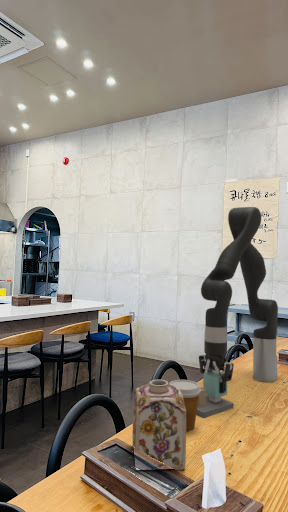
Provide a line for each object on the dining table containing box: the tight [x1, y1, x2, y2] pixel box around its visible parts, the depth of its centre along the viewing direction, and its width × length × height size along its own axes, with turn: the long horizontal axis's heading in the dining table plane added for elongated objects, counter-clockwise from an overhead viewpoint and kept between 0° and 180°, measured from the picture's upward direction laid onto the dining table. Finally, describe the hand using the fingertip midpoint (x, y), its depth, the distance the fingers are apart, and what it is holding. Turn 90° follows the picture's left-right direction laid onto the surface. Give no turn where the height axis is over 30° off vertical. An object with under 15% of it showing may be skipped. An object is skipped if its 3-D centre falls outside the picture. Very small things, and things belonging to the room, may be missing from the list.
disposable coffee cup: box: [168, 379, 201, 432], centre depth 99 cm, size 10×10×12 cm
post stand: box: [196, 387, 235, 419], centre depth 113 cm, size 14×10×8 cm
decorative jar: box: [132, 379, 187, 471], centre depth 83 cm, size 12×12×18 cm
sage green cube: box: [202, 371, 228, 398], centre depth 115 cm, size 6×6×7 cm
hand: (215, 389), depth 115 cm, fingers closed on sage green cube, 5 cm apart
